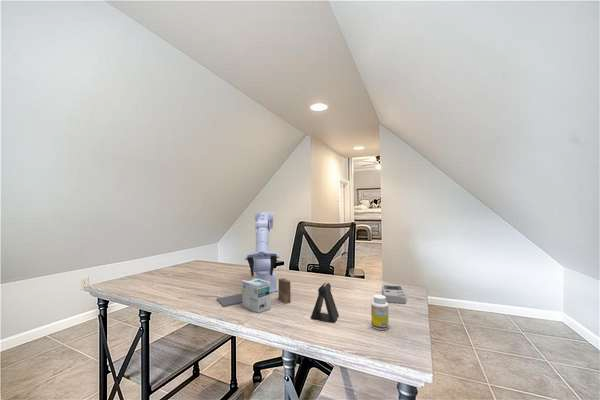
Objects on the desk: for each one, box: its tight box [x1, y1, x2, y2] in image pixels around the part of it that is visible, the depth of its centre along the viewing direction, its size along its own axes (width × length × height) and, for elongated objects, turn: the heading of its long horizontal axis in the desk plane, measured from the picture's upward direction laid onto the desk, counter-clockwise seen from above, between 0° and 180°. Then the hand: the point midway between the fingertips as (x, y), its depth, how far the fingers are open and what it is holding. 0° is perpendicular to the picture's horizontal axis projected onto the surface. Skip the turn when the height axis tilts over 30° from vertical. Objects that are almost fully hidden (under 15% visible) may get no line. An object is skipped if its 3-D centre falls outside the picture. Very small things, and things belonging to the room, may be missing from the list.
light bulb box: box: [241, 277, 272, 314], centre depth 107 cm, size 11×7×11 cm, turn 48°
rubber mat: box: [216, 293, 242, 308], centre depth 115 cm, size 12×10×1 cm
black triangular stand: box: [310, 282, 339, 324], centre depth 97 cm, size 9×6×12 cm, turn 67°
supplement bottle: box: [370, 294, 390, 331], centre depth 89 cm, size 6×6×10 cm
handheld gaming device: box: [381, 284, 407, 304], centre depth 118 cm, size 9×15×4 cm, turn 166°
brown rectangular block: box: [278, 278, 292, 305], centre depth 114 cm, size 2×6×9 cm, turn 33°
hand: (261, 275), depth 108 cm, fingers open, 7 cm apart
